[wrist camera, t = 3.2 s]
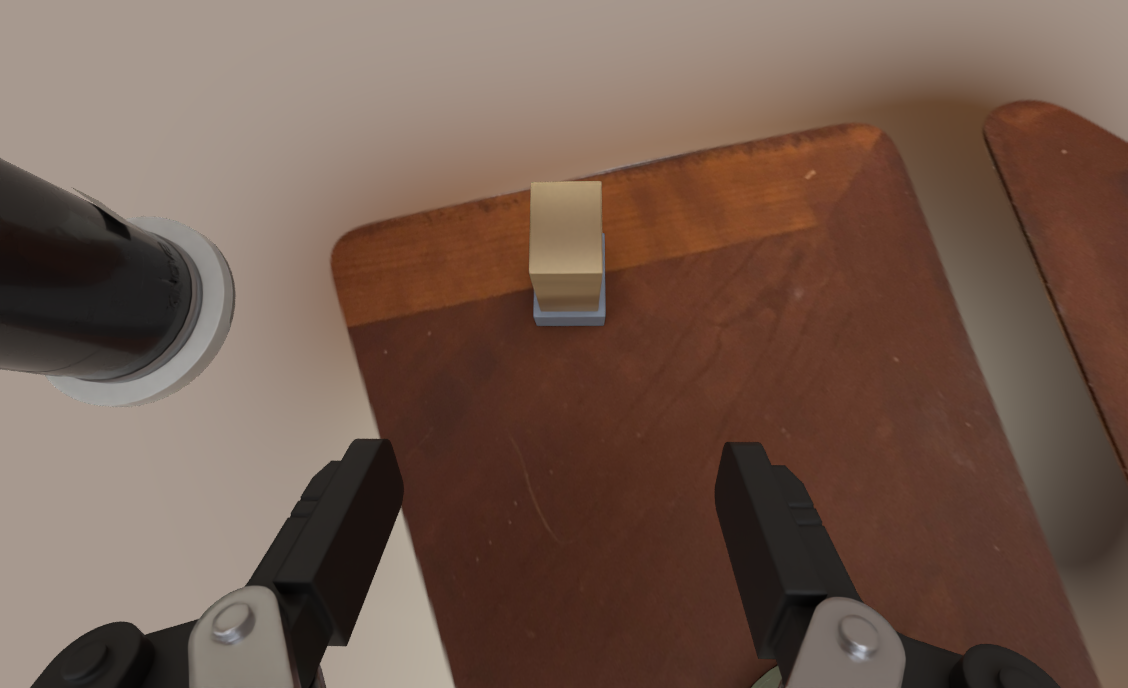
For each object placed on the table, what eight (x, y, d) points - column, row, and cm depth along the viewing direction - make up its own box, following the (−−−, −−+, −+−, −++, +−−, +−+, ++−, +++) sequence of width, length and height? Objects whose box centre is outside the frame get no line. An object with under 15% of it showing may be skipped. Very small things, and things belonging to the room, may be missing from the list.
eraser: (603, 325, 28) (612, 279, 20) (536, 326, 28) (519, 280, 20) (603, 247, 29) (610, 174, 21) (538, 247, 29) (522, 175, 21)
